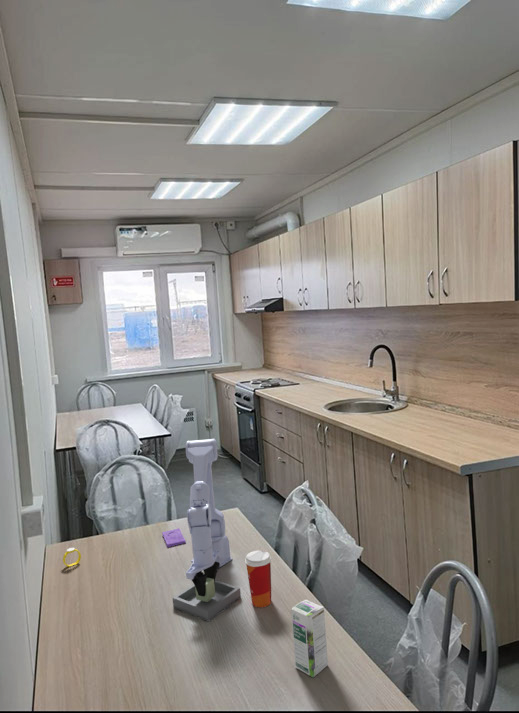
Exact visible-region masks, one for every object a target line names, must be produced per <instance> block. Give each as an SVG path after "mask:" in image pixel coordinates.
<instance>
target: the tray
mask: <svg viewBox="0 0 519 713" xmlns="http://www.w3.org/2000/svg"><path fill="white" fill-rule="evenodd" d="M241 598H242V596H241V588H240V587H239V586H235V585H232V584H229V583H227V582H223V581H221V580H217V579H215V596H214V597H213V598H212V599H211V600H209V601H208V602H205V601H201V600H197V599H196V590H195V585H194V583H193V584H192V585H190V586H188V587H187V588H185V589H184V590H182V591H181V592H179V593H177V594H176V595H174V596H173V597H172V605H173V608H174V609H176V610H179V611H181V612H184V613H186V614H188V615H191V616H194V617H196V618H197V619H198V618H199V619H201V620H204V621H206V622H210V621H211V620H213V619H214V618H216V617H217V616H218V615H220V614H221V613H222V612H224V611H225V610H226V609H228V608H229V607H231V606H232V605H233V604H235V603H236V602H237V601H238V600H240V599H241Z"/></svg>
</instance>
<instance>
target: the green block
mask: <svg viewBox="0 0 519 713" xmlns="http://www.w3.org/2000/svg"><path fill="white" fill-rule="evenodd" d="M195 590H196V587H195ZM214 596H215V586H214V579H212V578H207V579H206V594H205V596H204V597H203V596H199V595H198V592H197V590H196V599H197V600H201V601H205V602H208V601H209V600H211V599H212V598H213V597H214Z"/></svg>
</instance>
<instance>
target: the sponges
mask: <svg viewBox="0 0 519 713" xmlns="http://www.w3.org/2000/svg"><path fill="white" fill-rule="evenodd" d="M161 535H163V536H162V537H164V538H163V539H164V542H166V543H165V545H166V547H167V548H171V546H172V547H176V546H179V545H178V544H181V545H184V544H183V543H185V544H186V543H187V542H186V541H187V540H186V539H185V537H184V535H183V533H182V531H181V529H180V527H179V528H175V529H170V530H167V531H166V530H165V531H162V532H161ZM175 545H176V546H175Z"/></svg>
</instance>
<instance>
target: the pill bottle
mask: <svg viewBox="0 0 519 713" xmlns="http://www.w3.org/2000/svg"><path fill="white" fill-rule="evenodd" d="M271 562H272V556H271V555H270V553H269V552H268V551H264V550H252V551H251V552H249V553H247V554H246V556H245V559H244V563H245V565H246V570H247V577H248V578H247V579H248V585H249V591H250V592H249V593H250V598H251V603H252V606H254V607H255V608H260V609H261V608H266V607H268V606H270V605H271V603H272V572H271V571H272V570H271V569H272V566H271Z"/></svg>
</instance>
